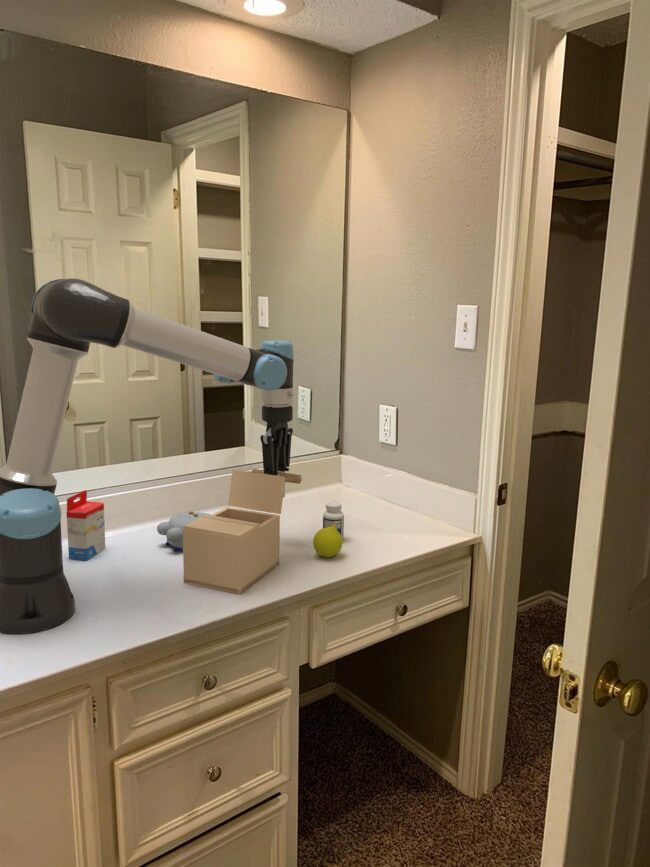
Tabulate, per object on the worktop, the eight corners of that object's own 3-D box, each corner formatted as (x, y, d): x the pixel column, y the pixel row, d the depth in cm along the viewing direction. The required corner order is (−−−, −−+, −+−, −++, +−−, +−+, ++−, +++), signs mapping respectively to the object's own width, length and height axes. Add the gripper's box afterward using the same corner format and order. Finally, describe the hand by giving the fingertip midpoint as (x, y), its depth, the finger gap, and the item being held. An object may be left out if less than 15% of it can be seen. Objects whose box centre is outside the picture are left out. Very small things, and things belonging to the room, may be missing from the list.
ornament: (347, 559, 157) (348, 519, 155) (320, 563, 154) (321, 523, 152) (333, 549, 163) (334, 510, 161) (307, 553, 160) (308, 514, 158)
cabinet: (240, 594, 136) (240, 535, 134) (183, 582, 141) (182, 525, 139) (279, 564, 152) (279, 511, 150) (227, 554, 158) (227, 503, 155)
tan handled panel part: (227, 505, 155) (250, 504, 166) (279, 513, 150) (298, 512, 161) (232, 467, 156) (254, 468, 166) (284, 474, 151) (303, 475, 161)
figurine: (176, 561, 152) (250, 552, 165) (179, 525, 151) (253, 519, 164) (146, 539, 166) (216, 532, 178) (149, 506, 165) (219, 502, 177)
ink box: (87, 561, 152) (84, 500, 149) (67, 559, 153) (64, 498, 150) (106, 548, 160) (104, 490, 157) (88, 546, 161) (85, 488, 158)
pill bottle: (328, 535, 173) (329, 499, 171) (346, 539, 171) (347, 503, 169) (318, 541, 169) (319, 504, 167) (337, 545, 166) (338, 508, 164)
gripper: (276, 410, 151) (276, 508, 155) (304, 402, 165) (303, 492, 169) (248, 407, 154) (248, 504, 158) (277, 399, 167) (277, 488, 172)
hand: (276, 497), depth 163 cm, fingers closed on tan handled panel part, 2 cm apart
